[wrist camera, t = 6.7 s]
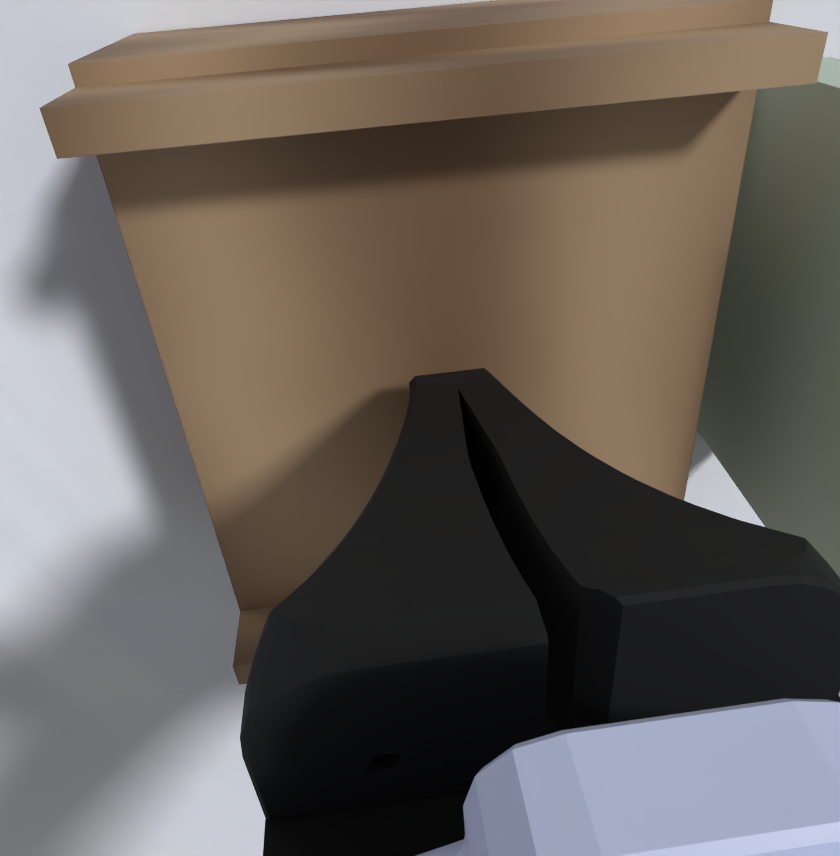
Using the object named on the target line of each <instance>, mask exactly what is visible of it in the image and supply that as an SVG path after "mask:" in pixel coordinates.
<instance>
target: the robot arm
mask: <svg viewBox="0 0 840 856" xmlns="http://www.w3.org/2000/svg"><path fill="white" fill-rule="evenodd" d="M409 386H410V398H409V404H408V409H407V413H406V417H405V421H404V424H403V427H402V430H401V433H400V436H399V440H398V442H397V445H396V447H395V450H394V452H393V454H392V457H391V459H390V461H389V464H388V466H387V468H386V471H385V473H384V475H383V477H382V479H381V481H380V483H379V484H378V486H377V488H376V490H375V492H374V493H373V495H372V497H371V498H370V500H369V502H368V504H367V505H366V507H365V508H364V510H363V511H362V513H361V514H360V516H359V517H358V519H357V520H356V522H355V523H354V524H353V526H352V527H351V529H350V530H349V531H348V533H347V534H346V535H345V537H344V538H343V539H342V541H341V542H340V543H339V544H338V545H337V546H336V548H335V549H334V550H333V551H332V552H331V553H330V554H329V556H328V557H327V558H326V559H325V560H324V561H323V562H322V564H321V565H320V566H319V567H318V568H317V569H316V570H315V572H314V573H313V574H312V575H311V576H310V577H309V578H308V579H307V580H306V581H305V582H303V583H302V584H301V585H300V586H299V587H298V588H297V589H296V590H295V591H293V592H292V593H291V594H290V595H289V596H288V597H287V598H286V599H284V600H283V601H282V602H281V603H280V604H279V605H277V606H276V607H275V608H274V609H272V610H271V611H270V613H269V615H268V617H267V620H266V623H265V625H264V628H263V631H262V634H261V636H260V639H259V642H258V645H257V648H256V652H255V655H254V658H253V662H252V665H251V670H250V674H249V677H248V682H247V686H246V691H245V698H244V707H243V716H242V725H241V734H240V740H241V748H242V755H243V759H244V762H245V764H246V767H247V770H248V772H249V775H250V778H251V780H252V783H253V786H254V788H255V791H256V794H257V796H258V799H259V802H260V804H261V807H262V810H263V812H264V815H265V817H266V821H265V835H264V850H263V856H840V697H839V695H838V694H839V692H840V578H839V576H838V575H837V574H836V572H835V571H834V570H833V569H832V567H831V566H830V565H829V563H828V562H827V561H826V560H825V559H824V558H823V557H822V556H821V555H820V553H819V552H818V551H817V550H816V549H815V548H814V547H813V546H812V545H811V544H810V543H809V542H808V541H807V540H806V538H803V537H799V536H796V535H792V534H788V533H785V532H781V531H777V530H773V529H770V528H766V527H762V526H758V525H755V524H751V523H747V522H744V521H740V520H737V519H734V518H730V517H728V516H725V515H722V514H719V513H716V512H713V511H710V510H707V509H705V508H702V507H699V506H696V505H693V504H691V503H688V502H686V501H683V500H681V499H678V498H676V497H673V496H671V495H669V494H666V493H664V492H662V491H660V490H658V489H655V488H653V487H651V486H649V485H647V484H644V483H642V482H640V481H638V480H636V479H634V478H632V477H630V476H628V475H626V474H624V473H622V472H620V471H619V470H617V469H615V468H613V467H612V466H610V465H608V464H606V463H605V462H603V461H601V460H599V459H598V458H596V457H594V456H592V455H591V454H589V453H588V452H586V451H585V450H583V449H581V448H580V447H578V446H577V445H576V444H574V443H573V442H571V441H570V440H568V439H567V438H566V437H564V436H563V435H561V434H560V433H559V432H557V431H556V430H554V429H553V428H552V427H551V426H549V425H548V424H547V423H546V422H544V421H543V420H542V419H541V418H540V417H538V416H537V415H536V414H535V413H534V412H532V411H531V410H530V409H529V408H528V407H527V406H525V405H524V404H523V403H522V402H521V401H520V400H519V399H518V398H516V397H515V396H514V395H513V394H512V393H511V392H510V391H509V390H508V389H507V388H506V387H505V386H504V385H502V384H501V383H500V382H499V381H498V380H497V379H496V378H495V377H494V376H493V375H492V374H491V373H490V372H489V371H487V370H486V369H485V368H479V369H471V370H462V371H454V372H445V373H437V374H428V375H420V376H415V377H414V378H413V379H412V380H411V381H410V382H409Z"/></svg>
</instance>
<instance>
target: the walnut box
mask: <svg viewBox="0 0 840 856" xmlns="http://www.w3.org/2000/svg"><path fill="white" fill-rule="evenodd" d="M772 3H773V0H497V1H486V2H475V3H464V4H453V5H443V6H432V7H421V8H410V9H399V10H388V11H377V12H366V13H356V14H345V15H334V16H323V17H312V18H301V19H290V20H279V21H269V22H258V23H247V24H236V25H225V26H214V27H203V28H192V29H182V30H171V31H160V32H149V33H138V34H132V35H130V36H128V37H126V38H124V39H121V40H119V41H117V42H115V43H113V44H111V45H108V46H106V47H104V48H102V49H100V50H97V51H95V52H93V53H91V54H89V55H86V56H84V57H82V58H80V59H78V60H76V61H73V62H71V63H69V64H68V66H69V69H70V72H71V75H72V78H73V82H74V85H75V88H74V89H72V90H71V91H69V92H67V93H65V94H64V95H62V96H60V97H58V98H56V99H55V100H53V101H51V102H49V103H48V104H46V105H44V106H42V107H41V108H40V111H41V113H42V116H43V119H44V122H45V125H46V128H47V131H48V134H49V137H50V139H51V142H52V145H53V148H54V151H55V154H56V157H57V159H59V158H69V157H79V156H89V155H97V158H98V161H99V164H100V167H101V170H102V174H103V177H104V180H105V183H106V186H107V189H108V193H109V196H110V199H111V202H112V205H113V208H114V212H115V215H116V218H117V221H118V224H119V228H120V231H121V234H122V237H123V240H124V243H125V247H126V250H127V253H128V256H129V259H130V262H131V266H132V269H133V272H134V275H135V278H136V281H137V285H138V288H139V291H140V294H141V297H142V300H143V304H144V307H145V310H146V313H147V316H148V320H149V323H150V326H151V329H152V332H153V335H154V339H155V342H156V345H157V348H158V351H159V354H160V358H161V361H162V364H163V367H164V370H165V373H166V377H167V380H168V383H169V386H170V389H171V392H172V396H173V399H174V402H175V405H176V408H177V412H178V415H179V418H180V421H181V424H182V427H183V431H184V434H185V437H186V440H187V443H188V446H189V450H190V453H191V456H192V459H193V462H194V465H195V469H196V472H197V475H198V478H199V481H200V484H201V488H202V491H203V494H204V497H205V500H206V504H207V507H208V510H209V513H210V516H211V519H212V523H213V526H214V529H215V532H216V535H217V538H218V542H219V545H220V548H221V551H222V554H223V557H224V561H225V564H226V567H227V570H228V573H229V576H230V580H231V583H232V586H233V589H234V592H235V596H236V599H237V602H238V605H239V608H240V618H239V625H238V633H237V640H236V648H235V655H234V663H233V668H234V671H235V674H236V677H237V680H238V682H239V684H246V683H247V682H248V677H249V674H250V670H251V665H252V662H253V658H254V655H255V652H256V648H257V645H258V642H259V639H260V636H261V634H262V631H263V628H264V625H265V623H266V620H267V617H268V615H269V613H270V611H271V610H272V609H274V608H275V607H276V606H277V605H279V604H280V603H281V602H282V601H283V600H284V599H286V598H287V597H288V596H289V595H290V594H291V593H292V592H293V591H295V590H296V589H297V588H298V587H299V586H300V585H301V584H302V583H303V582H305V581H306V580H307V579H308V578H309V577H310V576H311V575H312V574H313V573H314V572H315V570H316V569H317V568H318V567H319V566H320V565H321V564H322V562H323V561H324V560H325V559H326V558H327V557H328V556H329V554H330V553H331V552H332V551H333V550H334V549H335V548H336V546H337V545H338V544H339V543H340V542H341V541H342V539H343V538H344V537H345V535H346V534H347V533H348V531H349V530H350V529H351V527H352V526H353V524H354V523H355V522H356V520H357V519H358V517H359V516H360V514H361V513H362V511H363V510H364V508H365V507H366V505H367V504H368V502H369V500H370V498H371V497H372V495H373V493H374V492H375V490H376V488H377V486H378V484H379V483H380V481H381V479H382V477H383V475H384V473H385V471H386V468H387V466H388V464H389V461H390V459H391V457H392V454H393V452H394V450H395V447H396V445H397V442H398V440H399V436H400V433H401V430H402V427H403V424H404V421H405V417H406V413H407V409H408V404H409V398H410V386H409V382H410V381H411V380H412V379H413V378H414V377H415V376H420V375H428V374H437V373H445V372H454V371H462V370H471V369H479V368H485V369H486V370H487V371H489V372H490V373H491V374H492V375H493V376H494V377H495V378H496V379H497V380H498V381H499V382H500V383H501V384H502V385H504V386H505V387H506V388H507V389H508V390H509V391H510V392H511V393H512V394H513V395H514V396H515V397H516V398H518V399H519V400H520V401H521V402H522V403H523V404H524V405H525V406H527V407H528V408H529V409H530V410H531V411H532V412H534V413H535V414H536V415H537V416H538V417H540V418H541V419H542V420H543V421H544V422H546V423H547V424H548V425H549V426H551V427H552V428H553V429H554V430H556V431H557V432H559V433H560V434H561V435H563V436H564V437H566V438H567V439H568V440H570V441H571V442H573V443H574V444H576V445H577V446H578V447H580V448H581V449H583V450H585V451H586V452H588V453H589V454H591V455H592V456H594V457H596V458H598V459H599V460H601V461H603V462H605V463H606V464H608V465H610V466H612V467H613V468H615V469H617V470H619V471H620V472H622V473H624V474H626V475H628V476H630V477H632V478H634V479H636V480H638V481H640V482H642V483H644V484H647V485H649V486H651V487H653V488H655V489H658V490H660V491H662V492H664V493H666V494H669V495H671V496H673V497H676V498H678V499H681V500H683V501H684V497H685V491H686V485H687V480H688V474H689V468H690V463H691V457H692V452H693V446H694V440H695V435H696V429H697V424H698V418H699V412H700V407H701V401H702V396H703V390H704V384H705V379H706V373H707V367H708V362H709V356H710V351H711V345H712V339H713V334H714V328H715V323H716V317H717V311H718V306H719V300H720V295H721V289H722V283H723V278H724V272H725V266H726V261H727V255H728V250H729V244H730V238H731V233H732V227H733V222H734V216H735V210H736V205H737V199H738V194H739V188H740V182H741V177H742V171H743V165H744V160H745V154H746V149H747V143H748V137H749V132H750V126H751V121H752V115H753V109H754V104H755V98H756V93H757V89H764V88H774V87H784V86H794V85H804V84H814V83H817V80H818V75H819V71H820V66H821V62H822V57H823V52H824V48H825V43H826V39H827V34H828V32H823V31H818V30H812V29H806V28H801V27H795V26H789V25H784V24H778V23H773V22H769V20H770V14H771V8H772Z"/></svg>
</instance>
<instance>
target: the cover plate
mask: <svg viewBox="0 0 840 856" xmlns="http://www.w3.org/2000/svg"><path fill="white" fill-rule="evenodd" d="M697 430H698V432H699V433H700V435H701V436H702V437H703V439H704V440H705V442H706V443H707V444H708V446H709V447H710V449H711V450H712V452H713V453H714V454H715V456H716V457H717V459H718V460H719V462H720V463H721V464H722V466H723V467H724V469H725V470H726V471H727V473H728V474H729V476H730V477H731V479H732V480H733V481H734V483H735V484H736V486H737V487H738V489H739V490H740V491H741V493H742V494H743V496H744V497H745V498H746V500H747V501H748V503H749V504H750V506H751V507H752V508H753V510H754V511H755V513H756V514H757V516H758V517H759V518H760V520H761V521H762V523H763V524H764V526H765V527H766V528H770V529H773V530H777V531H781V532H785V533H788V534H792V535H796V536H799V537H803V538H806V540H807V541H808V542H809V543H810V544H811V545H812V546H813V547H814V548H815V549H816V550H817V551H818V552H819V553H820V555H821V556H822V557H823V558H824V559H825V560H826V561H827V562H828V563H829V565H830V566H831V567H832V569H833V570H834V571H835V572H836V574H837V575H838V576H839V578H840V59H836V58H832V57H826V58H822V62H821V66H820V71H819V75H818V80H817V83H814V84H804V85H794V86H784V87H774V88H764V89H757V93H756V98H755V104H754V109H753V115H752V121H751V126H750V132H749V137H748V143H747V149H746V154H745V160H744V165H743V171H742V177H741V182H740V188H739V194H738V199H737V205H736V210H735V216H734V222H733V227H732V233H731V238H730V244H729V250H728V255H727V261H726V266H725V272H724V278H723V283H722V289H721V295H720V300H719V306H718V311H717V317H716V323H715V328H714V334H713V339H712V345H711V351H710V356H709V362H708V367H707V373H706V379H705V384H704V390H703V396H702V401H701V407H700V412H699V418H698V424H697Z"/></svg>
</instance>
